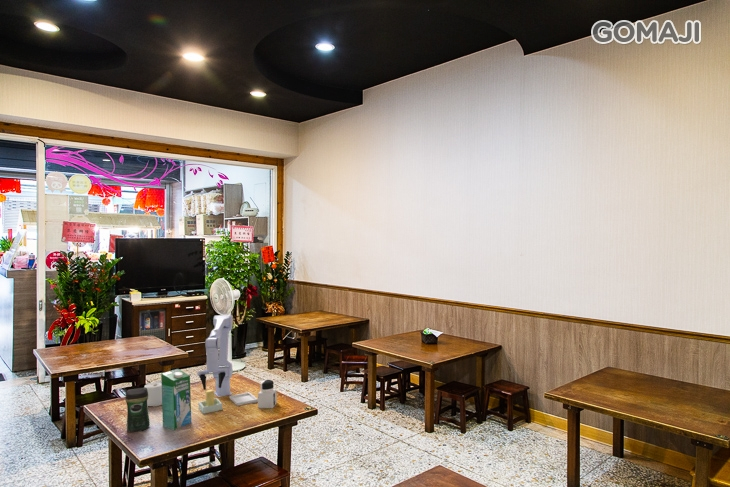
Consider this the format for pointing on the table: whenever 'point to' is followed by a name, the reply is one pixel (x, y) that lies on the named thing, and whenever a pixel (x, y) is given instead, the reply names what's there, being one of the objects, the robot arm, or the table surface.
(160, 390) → the toilet tissue
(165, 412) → the milk carton
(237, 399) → the tray
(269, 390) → the container
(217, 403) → the square storage bin
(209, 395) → the peg
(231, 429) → the table surface
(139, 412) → the coffee jar
